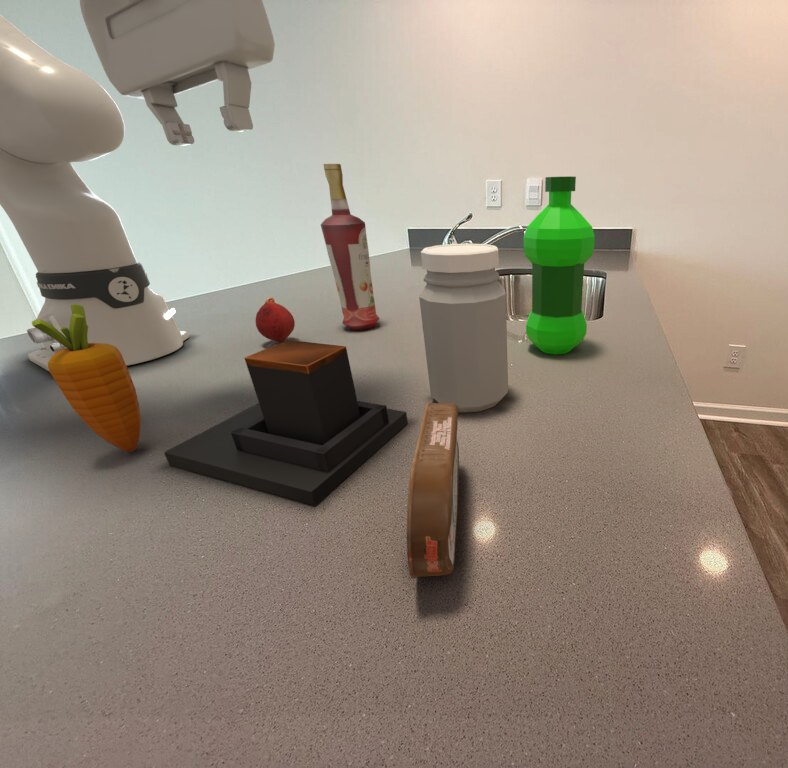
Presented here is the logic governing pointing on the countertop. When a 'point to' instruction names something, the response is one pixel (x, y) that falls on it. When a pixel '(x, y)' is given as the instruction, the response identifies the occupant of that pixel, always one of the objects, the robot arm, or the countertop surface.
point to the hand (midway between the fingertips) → (210, 138)
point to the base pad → (286, 453)
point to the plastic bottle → (558, 270)
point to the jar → (464, 325)
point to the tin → (434, 493)
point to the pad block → (304, 390)
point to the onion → (274, 321)
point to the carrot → (95, 382)
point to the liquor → (348, 256)
